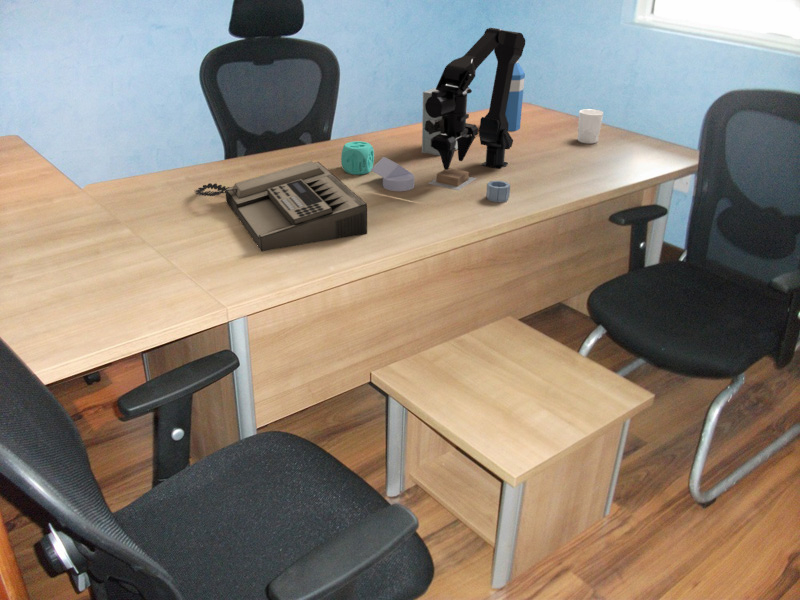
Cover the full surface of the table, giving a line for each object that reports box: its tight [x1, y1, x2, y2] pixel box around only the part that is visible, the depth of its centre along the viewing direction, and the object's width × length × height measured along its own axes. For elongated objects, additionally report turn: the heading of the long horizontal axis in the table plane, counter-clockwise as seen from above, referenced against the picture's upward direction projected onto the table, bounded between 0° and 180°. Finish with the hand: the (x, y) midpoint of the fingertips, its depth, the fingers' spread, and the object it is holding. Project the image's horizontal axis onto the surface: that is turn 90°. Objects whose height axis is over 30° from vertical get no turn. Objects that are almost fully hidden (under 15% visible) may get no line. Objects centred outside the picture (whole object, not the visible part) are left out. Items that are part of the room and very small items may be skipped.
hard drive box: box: [421, 84, 468, 157], centre depth 241 cm, size 16×8×20 cm, turn 144°
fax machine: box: [194, 160, 368, 252], centre depth 193 cm, size 45×34×10 cm
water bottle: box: [505, 60, 526, 132], centre depth 264 cm, size 9×9×25 cm
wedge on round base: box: [370, 156, 415, 192], centre depth 214 cm, size 9×7×13 cm
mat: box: [427, 176, 478, 191], centre depth 218 cm, size 12×10×1 cm
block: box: [435, 167, 470, 187], centre depth 217 cm, size 7×7×2 cm
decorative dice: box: [340, 140, 375, 176], centre depth 224 cm, size 8×8×8 cm
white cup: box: [577, 108, 604, 145], centre depth 255 cm, size 8×8×10 cm
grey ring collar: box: [485, 180, 511, 203], centre depth 205 cm, size 6×6×4 cm
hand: (453, 165), depth 216 cm, fingers open, 9 cm apart
